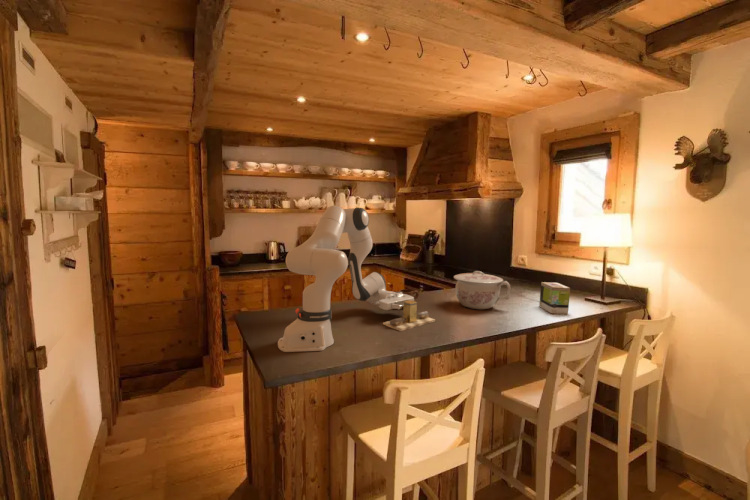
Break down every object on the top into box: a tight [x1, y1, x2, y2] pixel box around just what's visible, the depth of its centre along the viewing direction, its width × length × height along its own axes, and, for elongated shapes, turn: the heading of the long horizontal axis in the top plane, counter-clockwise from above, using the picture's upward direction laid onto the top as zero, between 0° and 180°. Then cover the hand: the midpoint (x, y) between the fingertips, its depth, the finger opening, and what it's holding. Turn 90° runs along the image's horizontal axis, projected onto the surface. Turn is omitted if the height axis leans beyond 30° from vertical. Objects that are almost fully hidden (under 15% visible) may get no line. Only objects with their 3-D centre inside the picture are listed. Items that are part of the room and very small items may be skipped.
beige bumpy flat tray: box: [382, 310, 436, 332], centre depth 181 cm, size 24×12×4 cm, turn 130°
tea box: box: [538, 281, 571, 315], centre depth 208 cm, size 15×10×15 cm
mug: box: [399, 288, 420, 309], centre depth 209 cm, size 12×8×9 cm, turn 114°
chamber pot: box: [453, 270, 512, 311], centre depth 212 cm, size 28×28×21 cm
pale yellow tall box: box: [402, 300, 418, 323], centre depth 180 cm, size 4×4×10 cm
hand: (407, 305), depth 181 cm, fingers open, 8 cm apart
